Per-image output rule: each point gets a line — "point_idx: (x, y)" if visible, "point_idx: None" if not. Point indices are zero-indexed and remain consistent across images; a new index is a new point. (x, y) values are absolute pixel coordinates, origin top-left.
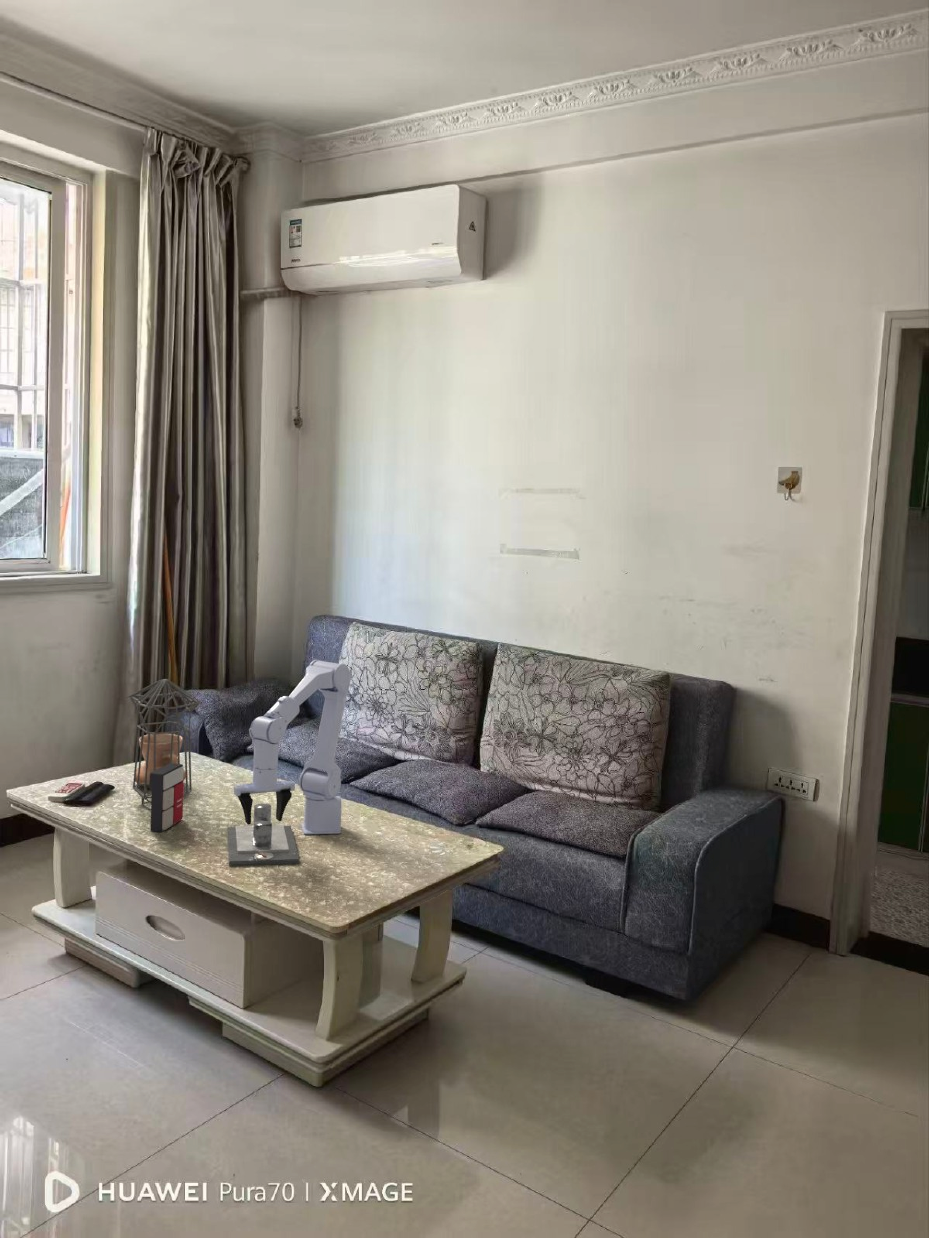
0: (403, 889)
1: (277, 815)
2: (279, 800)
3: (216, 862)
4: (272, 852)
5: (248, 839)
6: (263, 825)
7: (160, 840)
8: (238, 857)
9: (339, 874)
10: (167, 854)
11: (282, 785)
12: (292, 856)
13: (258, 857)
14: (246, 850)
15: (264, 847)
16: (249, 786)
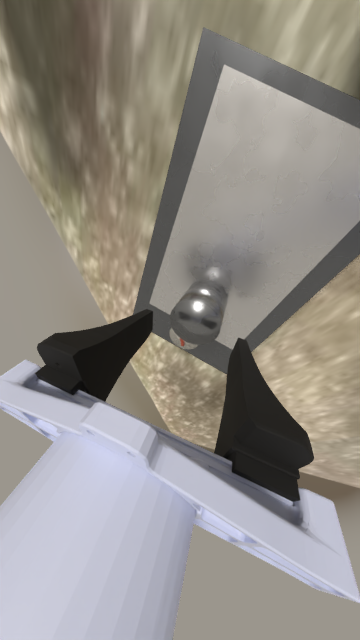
0: None
1: (233, 354)
2: (228, 411)
3: (122, 293)
4: None
5: (193, 256)
6: (188, 334)
7: (17, 74)
8: None
9: None
10: (52, 211)
11: (207, 528)
12: (224, 362)
13: (172, 338)
14: (163, 310)
15: None
16: (50, 431)
